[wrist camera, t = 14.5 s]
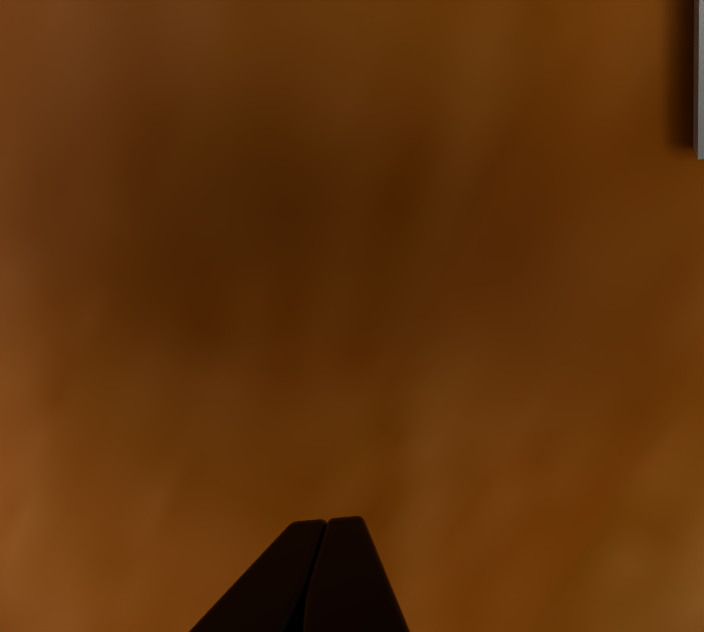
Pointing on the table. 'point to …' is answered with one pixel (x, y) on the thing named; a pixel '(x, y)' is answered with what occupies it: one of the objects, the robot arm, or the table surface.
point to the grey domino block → (698, 80)
